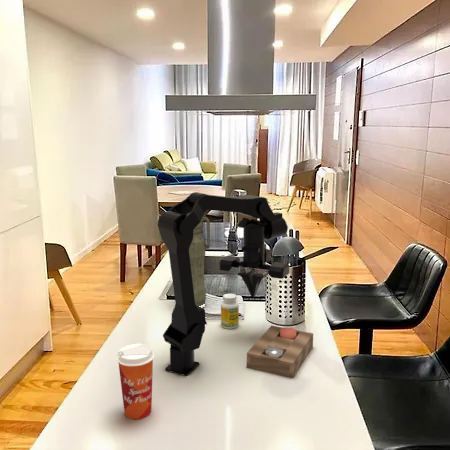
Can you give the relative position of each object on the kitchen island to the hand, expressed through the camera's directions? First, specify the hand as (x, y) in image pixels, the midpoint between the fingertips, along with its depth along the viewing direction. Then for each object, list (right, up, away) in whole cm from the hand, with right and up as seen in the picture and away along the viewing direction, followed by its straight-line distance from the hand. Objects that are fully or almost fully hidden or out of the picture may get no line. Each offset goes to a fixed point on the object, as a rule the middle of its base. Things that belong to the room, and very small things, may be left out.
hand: (253, 296), depth 131 cm
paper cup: (-26, -20, -30) cm, 45 cm away
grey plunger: (+4, -15, -12) cm, 19 cm away
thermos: (-19, -8, +28) cm, 34 cm away
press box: (+7, -15, -7) cm, 18 cm away
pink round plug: (+9, -12, -3) cm, 15 cm away
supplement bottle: (-6, -11, +12) cm, 18 cm away
